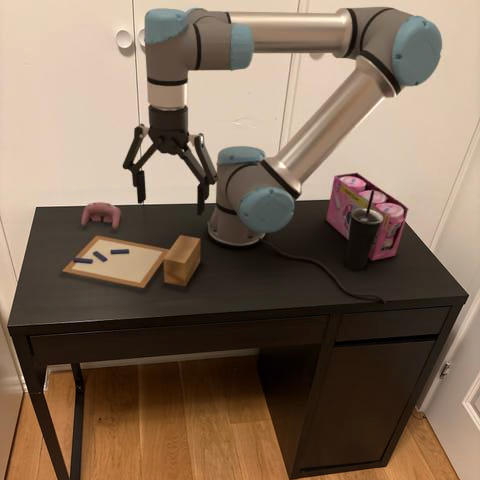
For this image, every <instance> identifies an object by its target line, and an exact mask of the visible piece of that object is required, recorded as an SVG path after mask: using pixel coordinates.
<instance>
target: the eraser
mask: <svg viewBox="0 0 480 480" xmlns="http://www.w3.org/2000/svg"><path fill="white" fill-rule="evenodd" d="M200 263H201V238H198V237H193V236H188V235H182V234H180V235H179V236H178V238H177V239H176V240H175V242H174V243H173V244H172V246H171V247H170V249H169V252H168V253H167V255H166V256H165V257H164V259H163V281H164V283H166V284H169V285H170V284H171V285H175V286H179V287H184V288H185V287H186V286H187V285H188V283H189V282H190V280H191V278H192V276H193V274H194V273H195V271H196V270H197V268H198V266H199V264H200Z"/></svg>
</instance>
